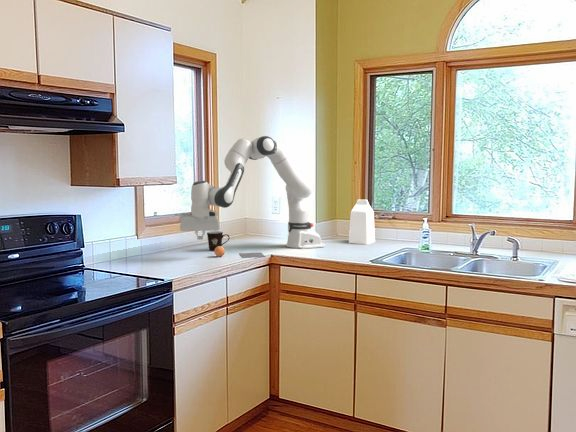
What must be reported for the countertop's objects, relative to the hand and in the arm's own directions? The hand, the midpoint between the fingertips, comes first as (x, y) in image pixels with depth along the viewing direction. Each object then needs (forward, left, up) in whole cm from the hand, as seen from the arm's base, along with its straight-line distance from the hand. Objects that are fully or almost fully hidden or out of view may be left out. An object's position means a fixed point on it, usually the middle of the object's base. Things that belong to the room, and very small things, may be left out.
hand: (200, 239), depth 282 cm
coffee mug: (-11, -20, -10) cm, 25 cm away
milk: (-99, -27, -10) cm, 103 cm away
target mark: (-27, 0, -9) cm, 28 cm away
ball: (-10, 0, -7) cm, 12 cm away
